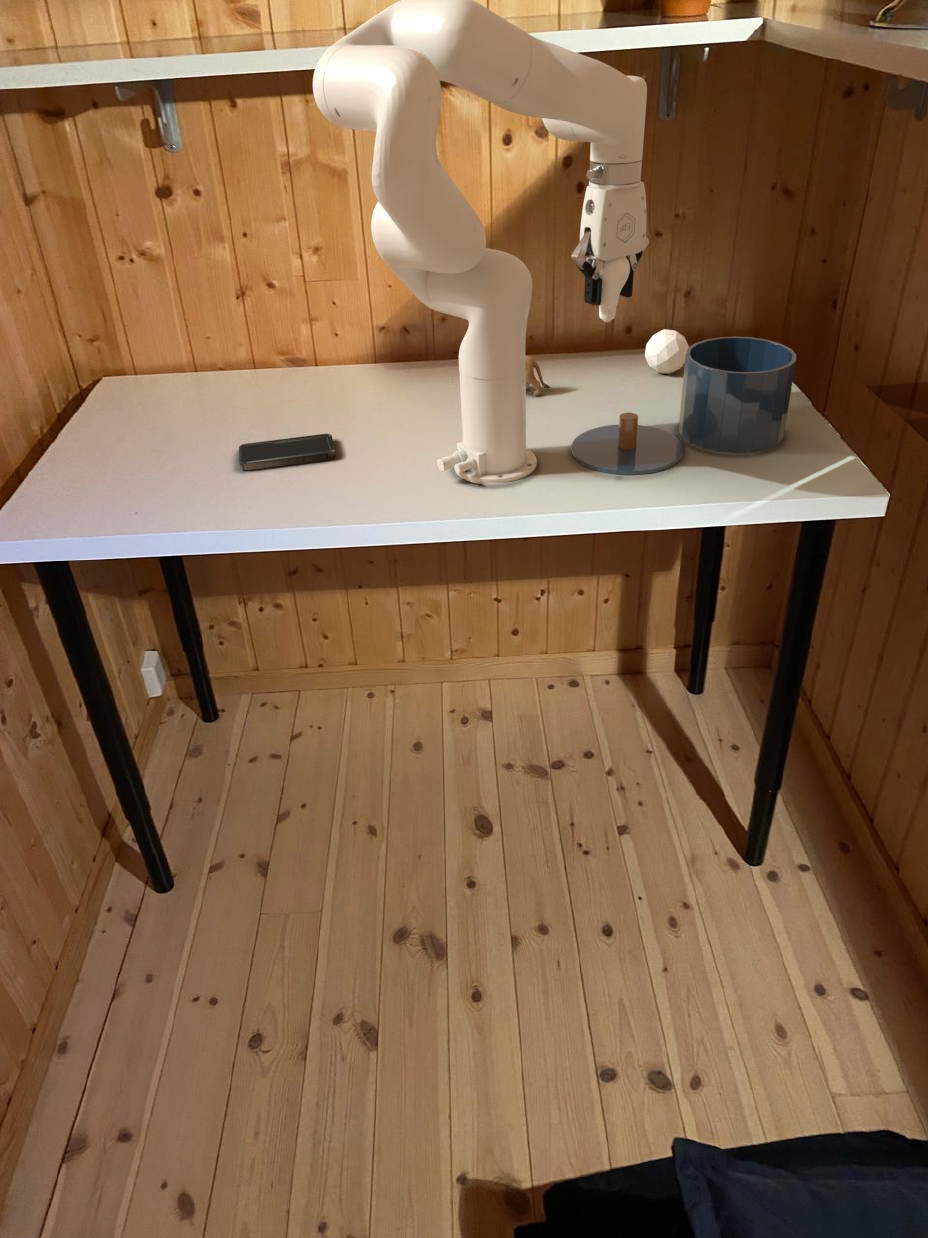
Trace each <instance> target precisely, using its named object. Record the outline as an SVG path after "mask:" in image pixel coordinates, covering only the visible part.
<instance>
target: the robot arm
mask: <svg viewBox="0 0 928 1238" xmlns="http://www.w3.org/2000/svg"><path fill="white" fill-rule="evenodd" d="M441 82H445V83H449V84H451V85H454V86H456V87H458V88H460V89H463V90H464V91H466V92H469V93H471V94H473V95H474V96H477V97H479V98H481V99H482V100H485V101H487V102H488V103H491V104H493V105H495V106H496V107H498V108H500V109H502V110H505V111H507V112H511V113H514V114H518V115H522V116H526V117H532V118H538V119H542V122H543V125H544V127H545V129H546V131H548V133H550V134H551V135H552V136H554V137H556V138H557V139H560V140H563V141H569V142H579V143H590V149H589V151H590V152H589V153H590V154H589V169H588V170H587V171H586V173H585V175H586V179H587V180H588V185H587V186H586V188H585V189H586V190H585V194H584V199H583V204H582V210H581V220H580V230H579V242H578V244H577V245H576V247H575V248H574V250H573V251H572V253H571V255H570V260H571V261H572V262H573V263H574V265H575V266H576V267H577V269H578V270H579V271H580V272H581V276H582V277H584V292H583V293H584V295H583V302H584V303H585V304H589V305H592V306H595V307H599V305H600V304H601V296H602V279H600V278H599V276H600V273H601V270H602V267H603V263H604V261H607V260H612V259H616V258H621V257H625V256H626V258H627V259H628V261H629V265H630V273H629V276H628V279H627V281H626V283H625V284H624V286H623V288H622V290H621V292H620V295H619V296H620V297H625V298H627V299H628V298H631V297H633V290H634V289H633V288H634V274H635V271H636V270H637V269H638V263H639V261H640V260H641V258H642V257H643V253H644V252H645V250H646V249H647V247H648V246H649V244H650V239H649V238H648V236H647V216H648V215H647V195H646V187H645V182H643V181H642V169H643V155H644V143H645V142H644V140H645V127H646V126H645V125H646V114H647V113H646V112H647V97H648V85H647V82H646V80H645V79H644V78H643V77H641V76H637V75H626V74H624V73H622V71H620V70H618V69H616V68H615V67H612V66H611V65H609V64H607V63H605V62H603V61H600V60H598V59H595V58H593V57H590V56H587V55H585V54H581V53H578V52H575V51H572V50H569V49H567V48H565V47H563V46H560V45H557V44H554V43H551V42H548V41H545V40H542V39H539V38H537V37H535V36H533V35H532V34H530V33H529V32H526V31H525V30H523V29H521V28H520V27H518V26H517V25H515V24H513V23H512V22H510V21H509V20H506V18H504V17H502V16H500V15H498V14H497V13H496V12H494V11H492V10H491V9H488V8H487V7H485V6H484V5H482V4H481V3H478V2H477V1H475V0H398V1H396V2H395V3H393V4H391V5H389V6H388V7H386V8H385V9H383V10H382V11H380V12H378V13H377V14H376V15H374V16H372V17H371V18H369V19H367V21H365V22H364V23H362V24H361V25H360V26H358V27H357V28H355V29H354V30H352V31H350V32H349V33H348V34H346V35H345V36H343V37H341V38H340V39H339V40H337V41H336V42H334V43H333V44H332V45H331V46H329V47H328V48H327V49H326V50H325V51H324V52H323V54H322V55H321V56H320V58H319V60H318V62H317V63H316V66H315V68H314V71H313V76H312V92H313V99H314V101H315V103H316V106H317V108H318V111H319V112H320V113H321V114H322V116H323V117H324V118H325V119H326V120H327V121H328V122H330V123H331V124H334V126H337V127H338V128H343V129H347V130H356V131H365V132H375V140H374V147H373V158H372V168H371V185H372V189H373V193H374V195H375V198H376V200H377V203H376V204H375V206H374V207H373V211H372V214H371V219H370V231H371V238H372V241H373V244H374V247H375V249H376V252H377V254H378V255H379V257H380V258H381V259H382V261H383V262H384V263H385V265H386V266H387V267H388V268H389V269H390V270H391V271H392V272H393V273H394V274H395V275H396V277H397V278H398V279H399V280H400V281H401V283H402V284H404V286H405V287H406V288H407V289H408V290H409V291H410V292H411V293H412V294H413V295H414V297H415V298H417V300H419V301H420V303H422V304H423V305H424V306H426V307H427V308H429V309H431V310H433V311H435V312H438V313H441V314H445V315H449V316H453V317H457V318H460V319H462V320H465V321H468V327H467V330H466V332H465V334H464V337H463V339H462V340H461V343H460V346H459V350H458V372H459V391H460V392H459V395H460V410H461V411H460V413H461V429H462V430H461V431H462V441H459V442H457V443H456V448H457V450H455V451H453V453H452V454H451V455H446V456H444V457H441V458H438V459H437V460H436V466H437V469H438V471H440V472H442V473H443V472H445V471H448V470H451V469H453V468H454V472H455V473H456V475H457V476H458V477H459V478H461V479H463V480H465V481H466V482H469V483H473V484H478V485H483V483H484V484H503V483H509V482H514V481H517V480H521V479H524V478H525V477H527V476H528V475H530V474H532V473H533V472H534V471H535V469H536V467H537V464H538V462H537V461H538V460H537V456H536V454H535V453H533V451H531V450H530V449H528V448H527V389H526V366H525V355H526V343H527V341H526V340H527V329H528V328H527V327H528V318H529V314H530V308H531V303H532V298H533V296H532V295H533V279H532V275H531V272H530V270H529V268H528V267H527V265H526V263H524V262H523V261H522V260H521V259H520V258H519V257H517V256H515V255H514V254H511V253H509V252H506V251H502V250H500V249H494V248H488V247H487V236H486V235H487V234H486V232H485V231H486V230H485V228H484V225H483V223H482V221H481V219H480V217H479V216H478V213H477V212H476V211H475V209H474V208H473V207H472V205H471V204H470V203H469V201H468V200H467V198H466V197H465V196H464V195H463V193H462V192H461V191H460V189H459V188H458V187H457V185H456V184H455V182H454V181H453V179H451V177H450V175H449V174H448V172H447V171H446V169H445V167H444V166H443V164H442V163H441V161H440V158H439V155H438V152H437V151H438V149H437V135H438V125H439V119H440V113H441V107H442V87H441ZM593 261H596V263H595V266H594V268H593V267H592V264H593Z"/></svg>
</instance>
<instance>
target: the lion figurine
mask: <svg viewBox="0 0 928 1238" xmlns="http://www.w3.org/2000/svg"><path fill="white" fill-rule="evenodd" d="M525 366H526V390H527V389H528V388H529V387H530V385H532V386H533V387H535V388H536V390H534V391H533V395H534V396H535V397H539V396H540V395H541V394H542V387H543V388H544V389H547V390H548V389H550V388H551V386H550V385H548V384H546V383H545V382H544V379H543V375H542V372H541V371H542V370H541V368H540V366H539V364H538V362H537V360H535V359H534V358H533V357H532V356H529V355H526V354H525ZM534 369H535V371H536V373H537V374H536V375H537V377H538V379H539V380H538V379H537V378H536V376H535V372H534Z"/></svg>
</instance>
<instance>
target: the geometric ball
mask: <svg viewBox="0 0 928 1238" xmlns="http://www.w3.org/2000/svg"><path fill="white" fill-rule="evenodd" d="M689 347H690V345H689V343H688V341H687V340H686V337H685V336H684V335H683V334H681V333H680V332H679V331H677V330H673V329H665V328H664V329H661V330H660V331H658V332H657V333H655V334H653V335H652V336H651V337H650V339H649V340H648V341H647V343H646V345H645V352H644V358H645V360H646V363H647V364H648V366H649V368H651V369H652V370H654V371H655V372H657V373H659V374H666V375H670V374H673V373H674V372H676V371H678V370H680V369H681V368H682V367H684V365H685V356H686V352H687V349H688V348H689Z"/></svg>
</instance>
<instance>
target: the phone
mask: <svg viewBox="0 0 928 1238" xmlns="http://www.w3.org/2000/svg"><path fill="white" fill-rule="evenodd" d="M335 458H336V449H335V445H334V439H333V435H332V434H331V433H320V434H313V435H303V436H297V437H289V438H288V437H287V438H279V439H272V440H264V441H257V442H256V441H255V442H247V443H242V444H240V445H239V446H238V464H239V469H240V470H242V471H250V470H251V471H253V470H261V469H269V468H275V467H283V466H291V465H299V464H306V463H314V462H323V461H329V460H333V459H335Z"/></svg>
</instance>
